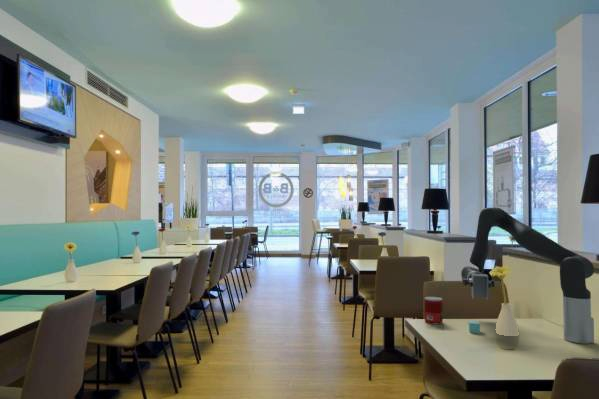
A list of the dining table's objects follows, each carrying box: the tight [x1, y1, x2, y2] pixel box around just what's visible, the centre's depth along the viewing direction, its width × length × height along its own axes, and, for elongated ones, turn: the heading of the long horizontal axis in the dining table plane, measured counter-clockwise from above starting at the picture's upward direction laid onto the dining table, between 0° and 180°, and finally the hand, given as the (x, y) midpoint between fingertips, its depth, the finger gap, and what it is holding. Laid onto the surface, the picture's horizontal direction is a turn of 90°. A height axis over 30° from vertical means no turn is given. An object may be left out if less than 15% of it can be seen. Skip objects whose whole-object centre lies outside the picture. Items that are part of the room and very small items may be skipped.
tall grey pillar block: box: [471, 273, 489, 301], centre depth 178 cm, size 6×6×10 cm
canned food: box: [423, 296, 444, 324], centre depth 191 cm, size 8×8×11 cm
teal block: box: [468, 320, 481, 334], centre depth 175 cm, size 4×4×4 cm
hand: (480, 284), depth 176 cm, fingers closed on tall grey pillar block, 6 cm apart
